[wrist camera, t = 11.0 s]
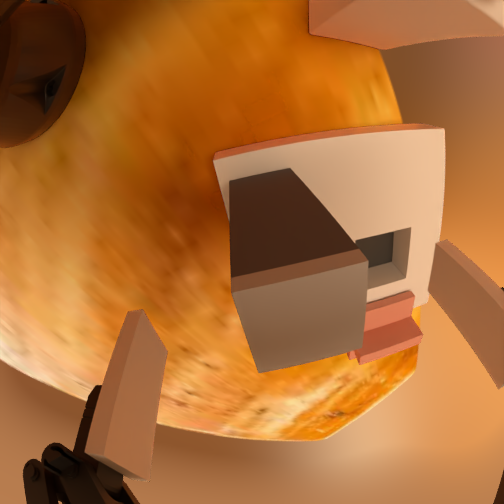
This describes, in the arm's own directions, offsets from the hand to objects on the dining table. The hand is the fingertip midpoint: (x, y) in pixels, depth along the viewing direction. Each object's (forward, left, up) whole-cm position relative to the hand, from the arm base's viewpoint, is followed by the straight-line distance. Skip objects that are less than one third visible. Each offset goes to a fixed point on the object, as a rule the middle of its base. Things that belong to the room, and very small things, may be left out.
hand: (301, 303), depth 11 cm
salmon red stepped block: (+16, +10, -11) cm, 22 cm away
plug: (0, 0, -11) cm, 11 cm away
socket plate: (+6, +7, -15) cm, 17 cm away
